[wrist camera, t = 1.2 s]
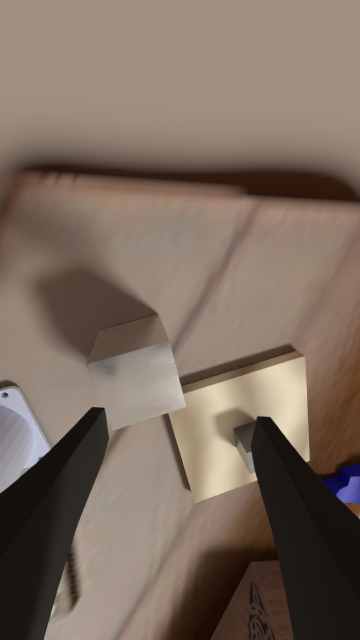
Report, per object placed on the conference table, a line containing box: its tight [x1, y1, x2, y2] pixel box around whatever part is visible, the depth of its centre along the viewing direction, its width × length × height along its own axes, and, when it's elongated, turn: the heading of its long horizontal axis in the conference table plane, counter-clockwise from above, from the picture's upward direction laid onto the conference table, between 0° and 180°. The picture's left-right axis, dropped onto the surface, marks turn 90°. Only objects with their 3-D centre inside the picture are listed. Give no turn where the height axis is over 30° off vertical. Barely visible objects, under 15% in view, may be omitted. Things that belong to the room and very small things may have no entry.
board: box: [168, 351, 310, 503], centre depth 24 cm, size 14×14×1 cm
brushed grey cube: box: [86, 314, 186, 430], centre depth 17 cm, size 5×5×6 cm
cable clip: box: [322, 464, 360, 504], centre depth 29 cm, size 12×4×6 cm, turn 89°
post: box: [233, 421, 256, 474], centre depth 22 cm, size 3×3×3 cm
